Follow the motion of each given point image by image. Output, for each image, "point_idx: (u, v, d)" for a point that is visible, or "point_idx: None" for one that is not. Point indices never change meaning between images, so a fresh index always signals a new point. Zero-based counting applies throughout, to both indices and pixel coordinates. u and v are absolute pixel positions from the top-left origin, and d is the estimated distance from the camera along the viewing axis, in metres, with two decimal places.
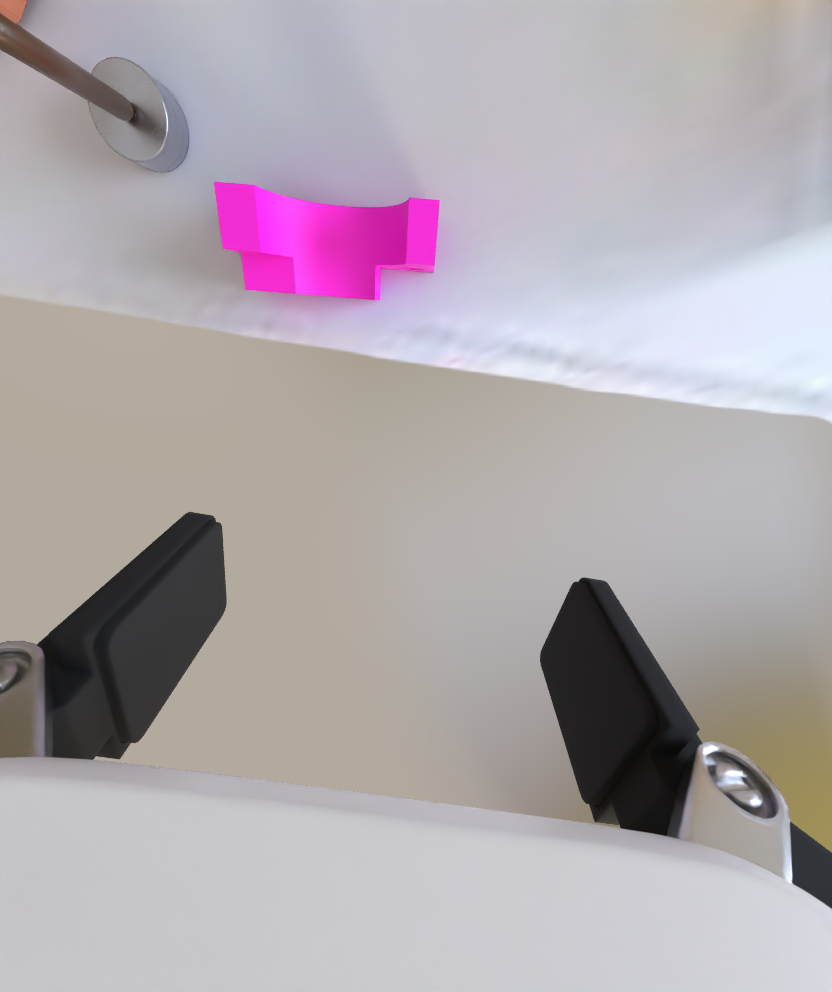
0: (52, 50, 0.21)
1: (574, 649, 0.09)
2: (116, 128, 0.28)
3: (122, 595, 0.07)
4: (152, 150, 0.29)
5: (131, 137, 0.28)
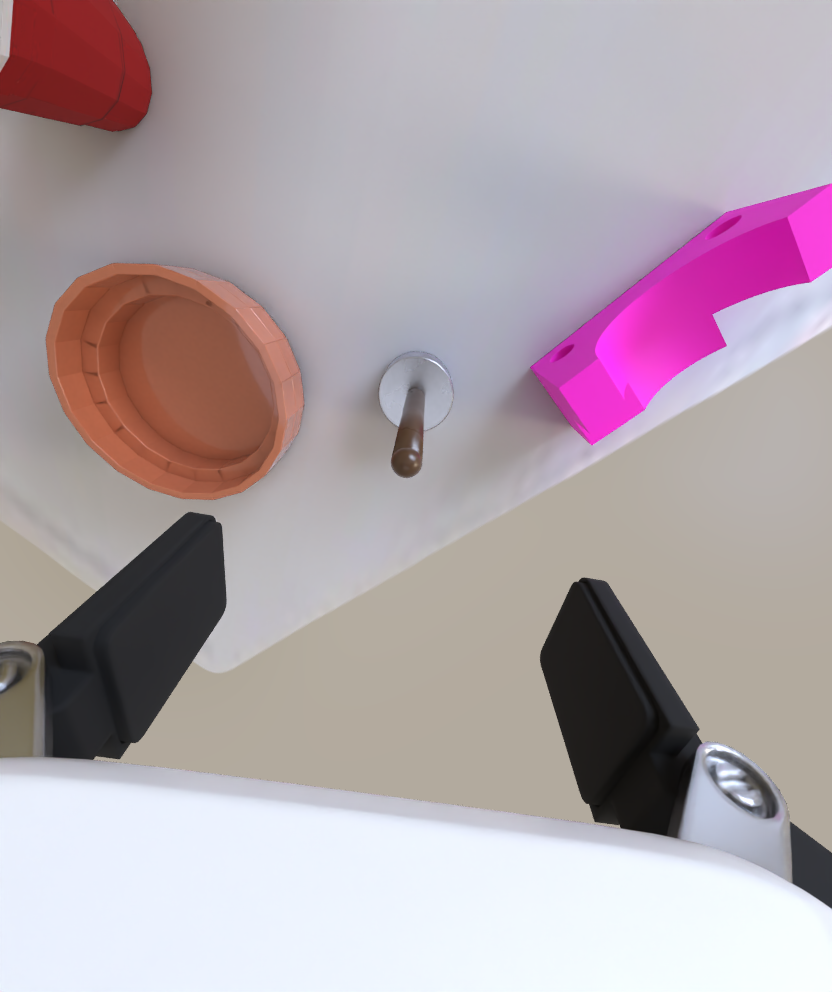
0: (415, 411, 0.22)
1: (574, 649, 0.09)
2: None
3: (122, 595, 0.07)
4: (446, 406, 0.29)
5: (426, 411, 0.29)
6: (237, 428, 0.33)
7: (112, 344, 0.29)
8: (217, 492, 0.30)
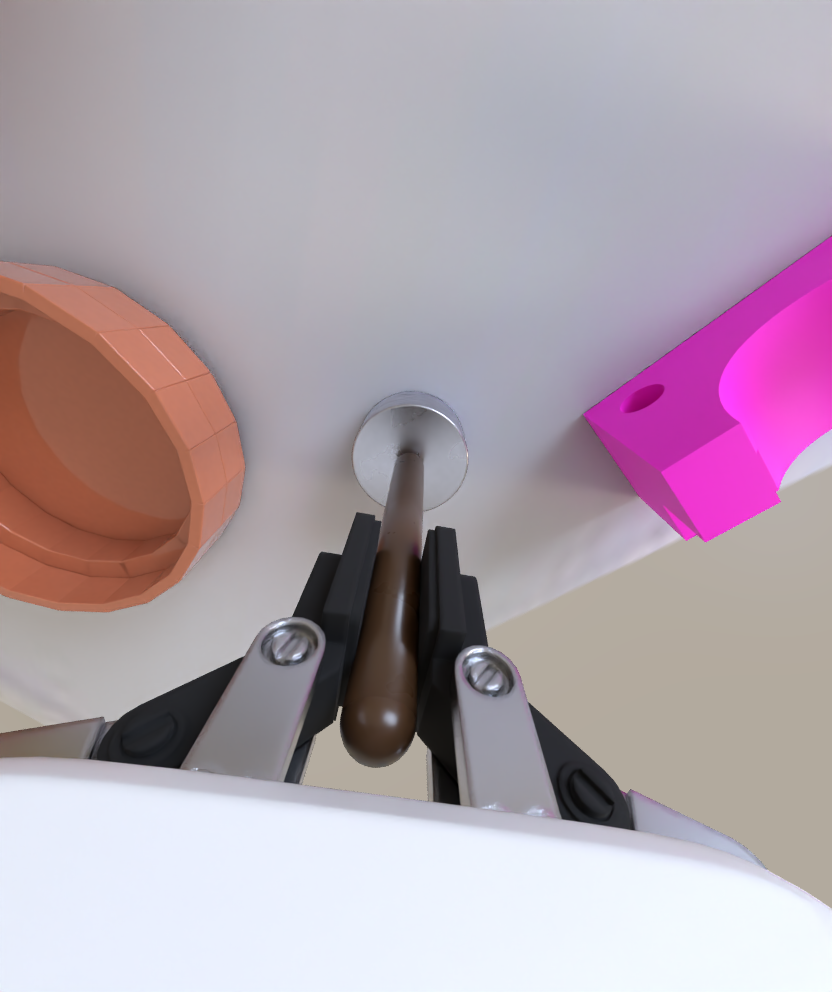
0: (405, 522, 0.12)
1: (420, 588, 0.10)
2: None
3: (353, 581, 0.08)
4: (457, 477, 0.19)
5: (427, 484, 0.19)
6: (151, 499, 0.22)
7: None
8: (111, 602, 0.20)
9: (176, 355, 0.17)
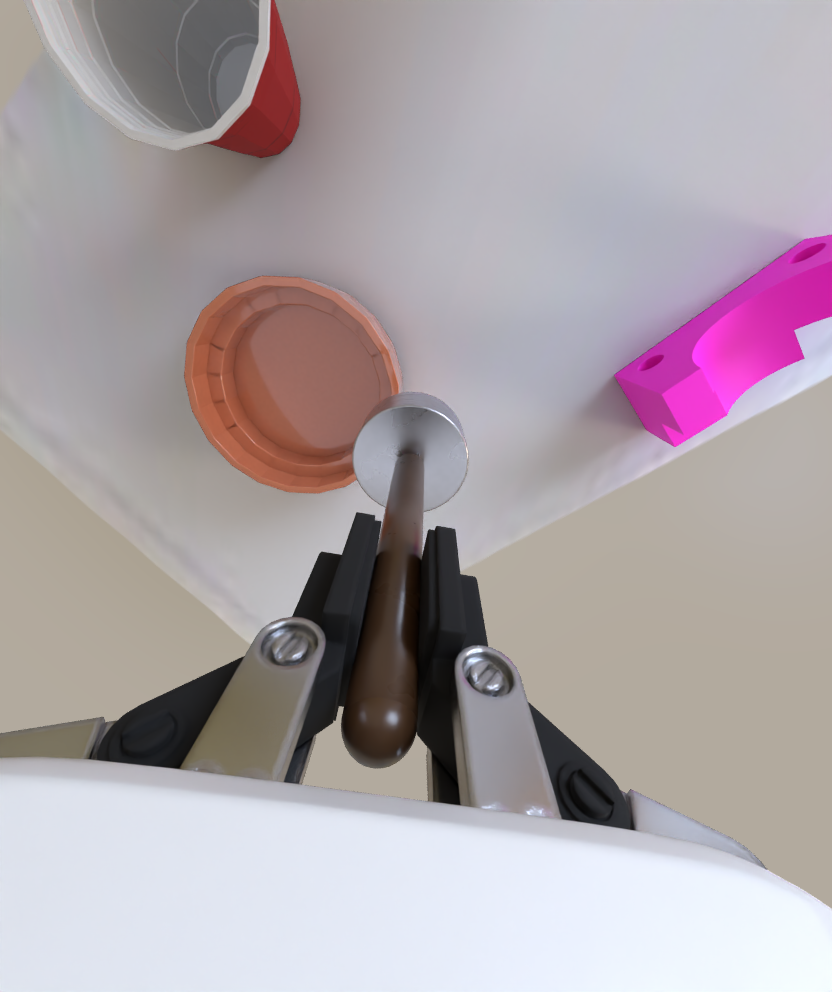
0: (406, 523, 0.12)
1: (420, 588, 0.10)
2: None
3: (353, 581, 0.08)
4: (458, 477, 0.19)
5: (427, 484, 0.19)
6: (335, 427, 0.35)
7: (233, 348, 0.31)
8: (322, 486, 0.33)
9: (383, 333, 0.30)
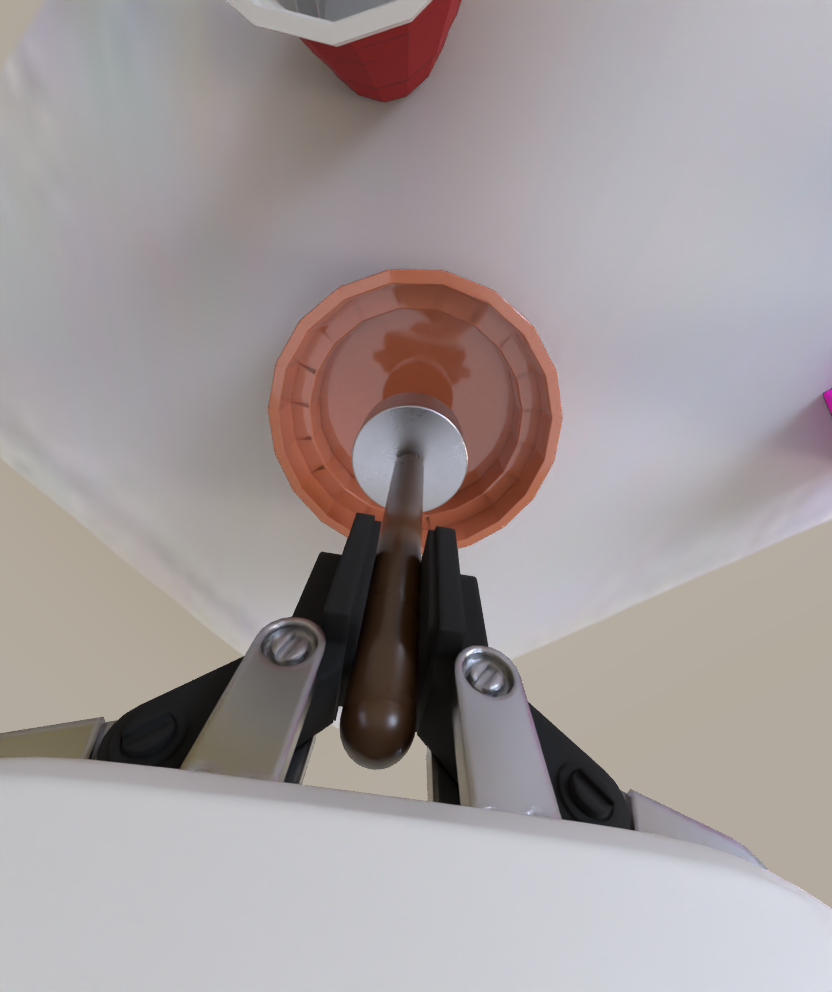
0: (405, 523, 0.12)
1: (420, 588, 0.10)
2: None
3: (353, 581, 0.08)
4: (457, 478, 0.19)
5: (426, 485, 0.19)
6: None
7: (324, 368, 0.24)
8: None
9: None
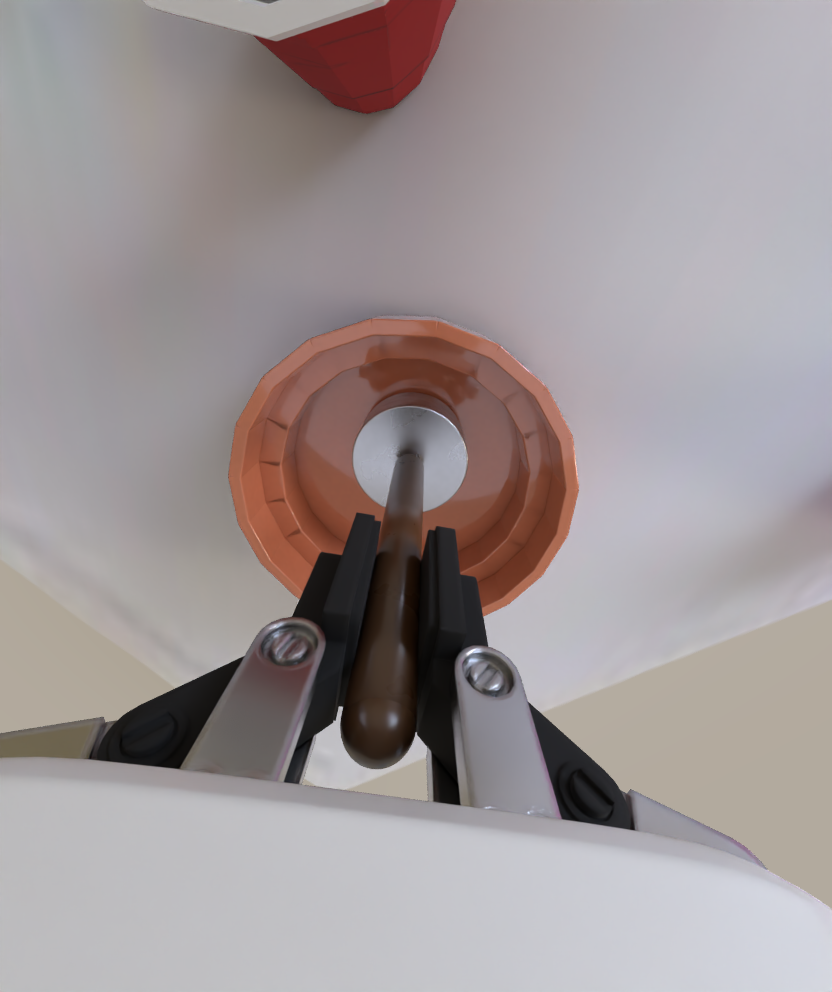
0: (405, 523, 0.12)
1: (420, 588, 0.10)
2: None
3: (353, 581, 0.08)
4: (457, 478, 0.19)
5: (426, 485, 0.19)
6: (440, 525, 0.24)
7: (298, 420, 0.20)
8: None
9: None
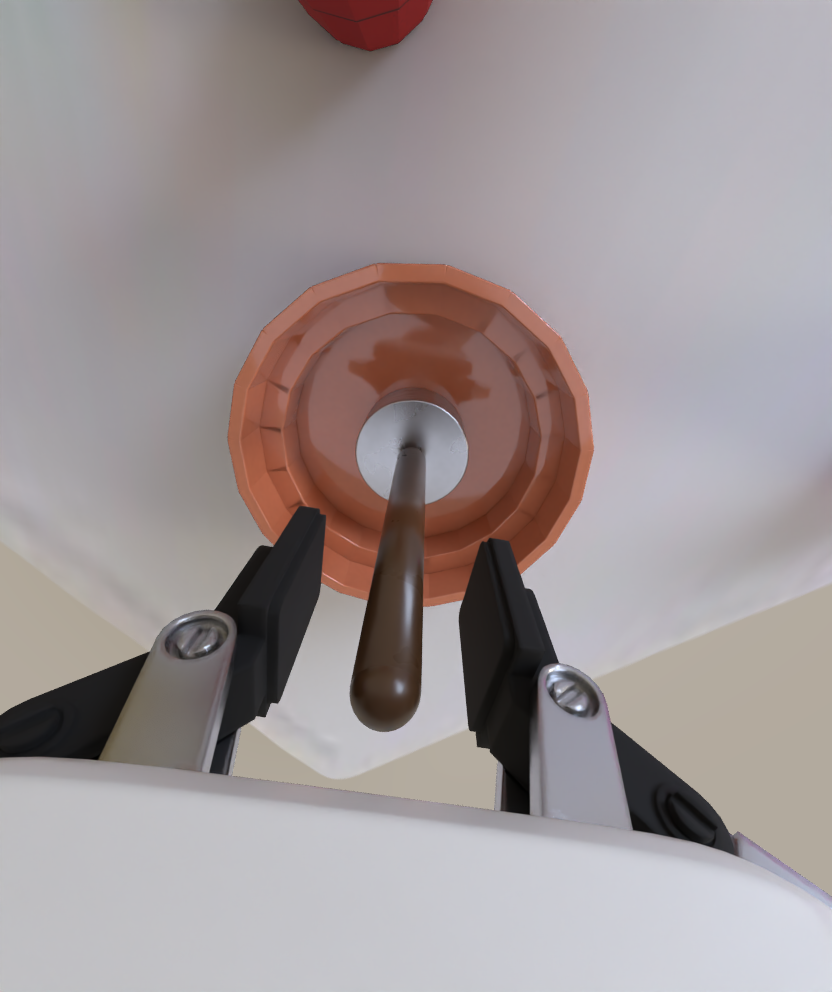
0: (409, 511, 0.13)
1: (476, 601, 0.10)
2: None
3: (278, 574, 0.08)
4: (458, 471, 0.19)
5: (428, 477, 0.19)
6: (447, 497, 0.23)
7: (300, 385, 0.19)
8: (439, 597, 0.21)
9: None
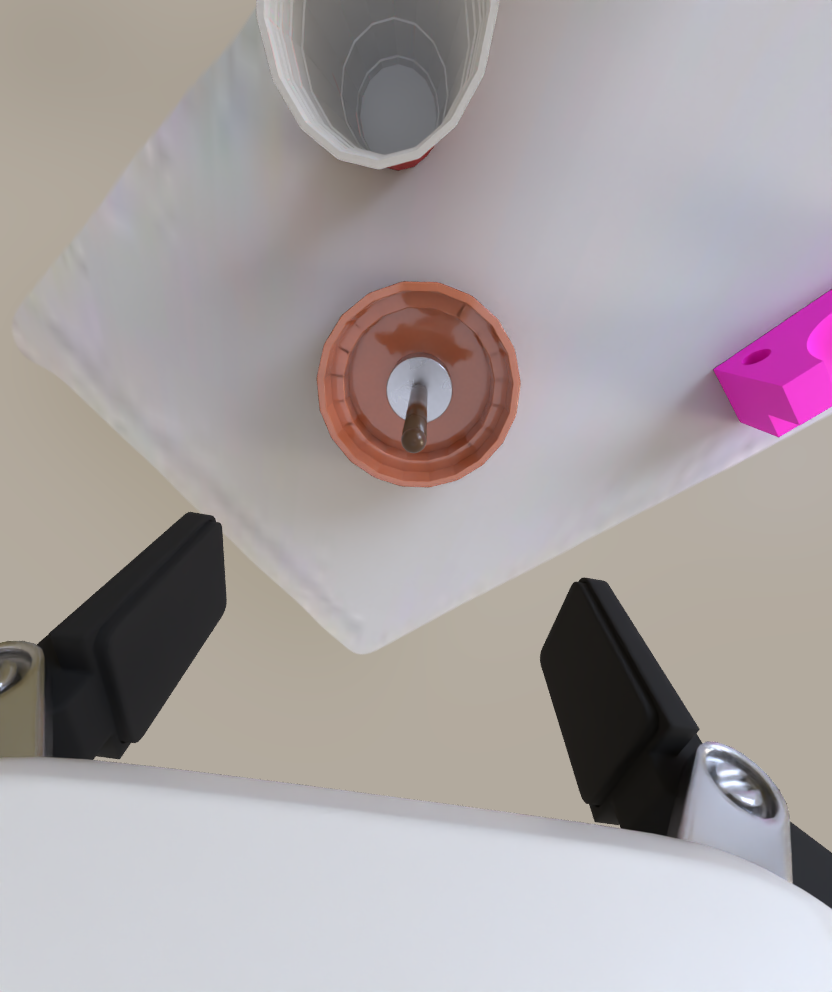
0: (419, 402, 0.26)
1: (574, 649, 0.09)
2: None
3: (122, 595, 0.07)
4: (446, 400, 0.33)
5: (429, 404, 0.33)
6: (440, 424, 0.37)
7: (353, 350, 0.33)
8: (435, 480, 0.34)
9: None
